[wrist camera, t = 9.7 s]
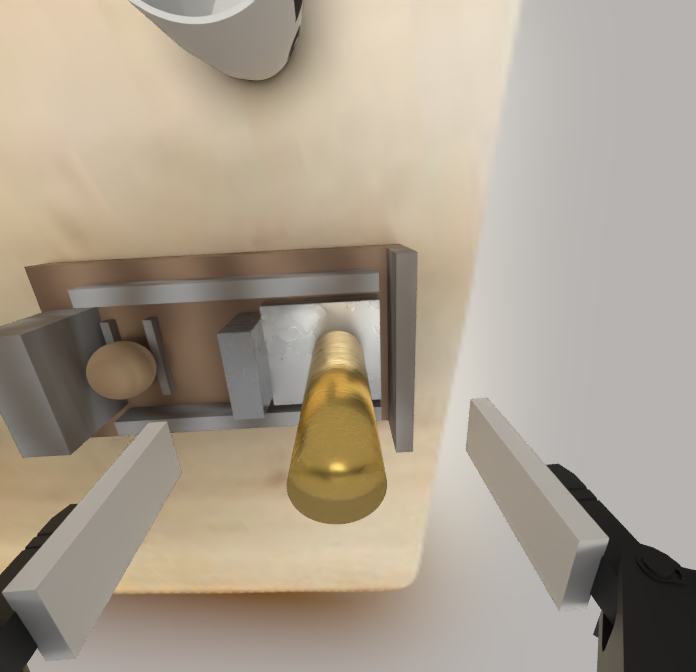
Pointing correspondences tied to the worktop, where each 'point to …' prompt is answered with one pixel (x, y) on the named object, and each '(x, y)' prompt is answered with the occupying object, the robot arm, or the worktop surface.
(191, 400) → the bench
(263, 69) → the cup
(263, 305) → the lever
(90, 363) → the nut
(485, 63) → the worktop surface
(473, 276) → the worktop surface
